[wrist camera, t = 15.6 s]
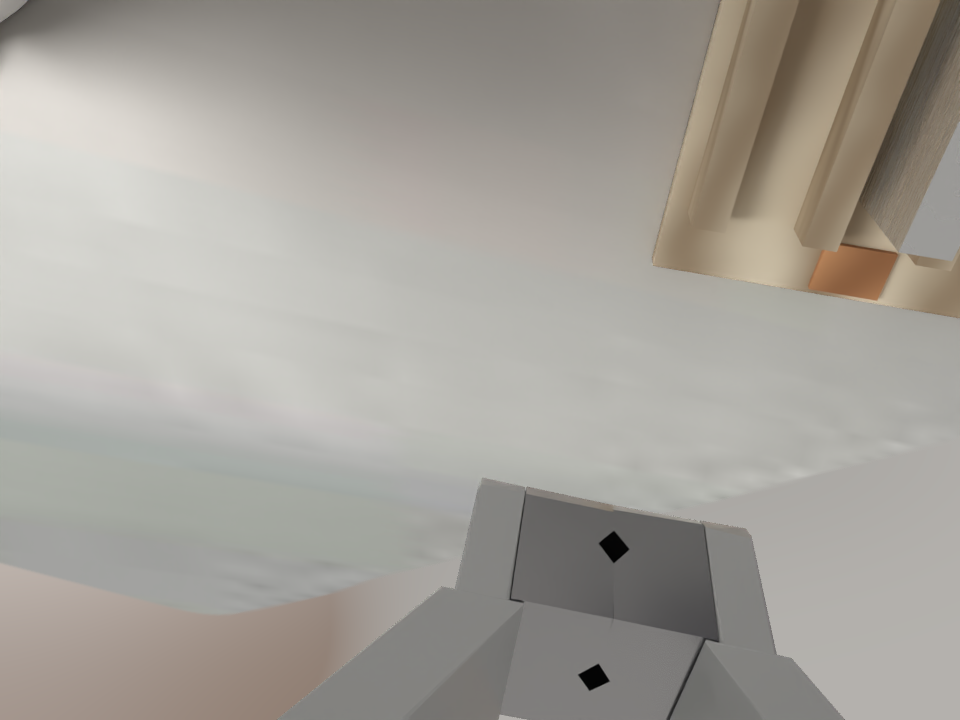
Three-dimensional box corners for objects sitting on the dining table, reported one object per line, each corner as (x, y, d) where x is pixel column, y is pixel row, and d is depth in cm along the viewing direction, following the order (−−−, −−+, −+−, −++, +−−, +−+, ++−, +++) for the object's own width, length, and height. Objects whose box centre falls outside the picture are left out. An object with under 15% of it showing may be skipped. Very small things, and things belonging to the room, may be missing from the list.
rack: (652, 257, 38) (654, 283, 35) (807, -327, 26) (827, -349, 23) (1021, 320, 36) (1051, 352, 34) (1366, -261, 24) (1451, -277, 22)
